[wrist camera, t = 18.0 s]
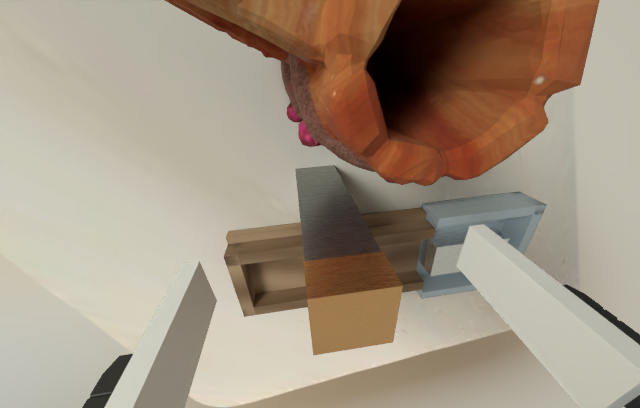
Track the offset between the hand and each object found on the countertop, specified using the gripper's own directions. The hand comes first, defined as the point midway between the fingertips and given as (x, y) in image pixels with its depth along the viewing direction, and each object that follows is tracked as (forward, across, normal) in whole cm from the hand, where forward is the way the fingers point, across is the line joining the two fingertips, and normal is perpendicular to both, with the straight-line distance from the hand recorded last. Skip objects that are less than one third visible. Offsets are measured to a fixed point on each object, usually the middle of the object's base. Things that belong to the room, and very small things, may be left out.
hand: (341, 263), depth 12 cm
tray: (+11, +16, -10) cm, 22 cm away
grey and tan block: (+11, 0, -1) cm, 11 cm away
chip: (+10, +13, -10) cm, 20 cm away
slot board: (+11, +1, -10) cm, 15 cm away
